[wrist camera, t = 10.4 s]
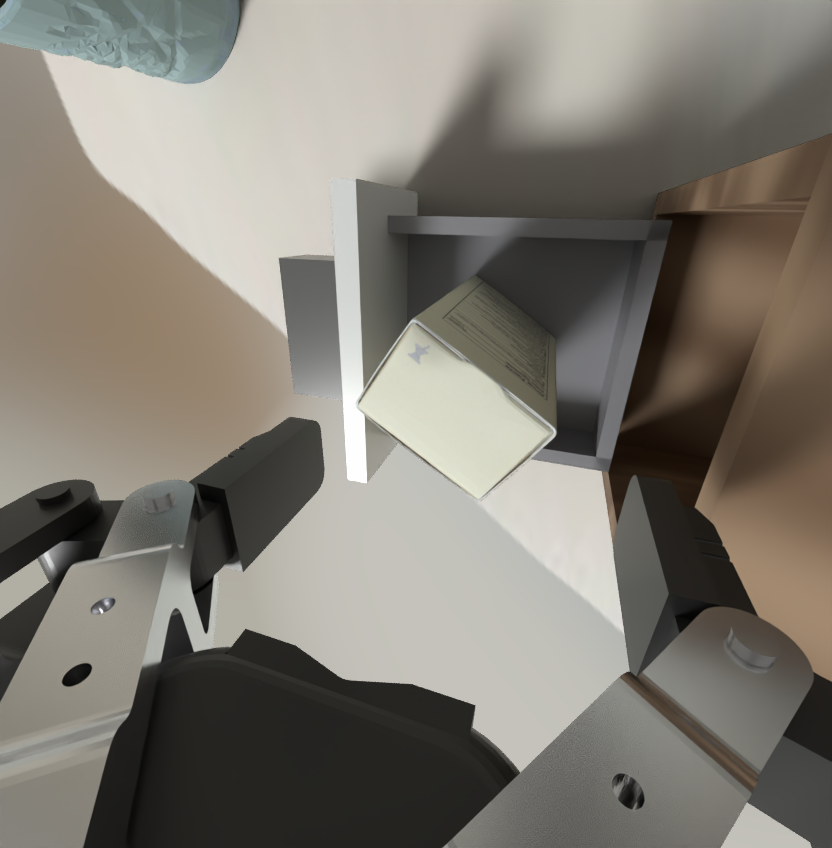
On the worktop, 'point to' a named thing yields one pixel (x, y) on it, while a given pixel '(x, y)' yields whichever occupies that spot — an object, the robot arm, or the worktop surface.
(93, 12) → the teal planter pot
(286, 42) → the worktop surface
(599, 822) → the robot arm
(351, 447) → the drawer
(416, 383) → the skincare box
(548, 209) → the worktop surface
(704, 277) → the wood grain block
